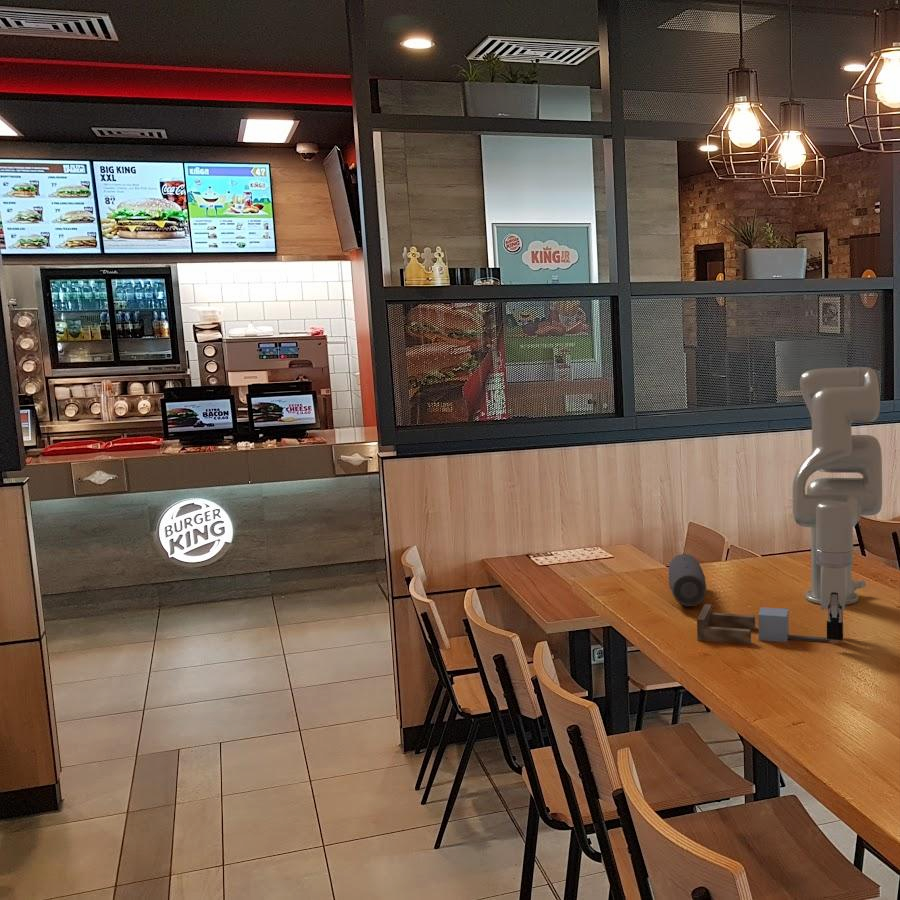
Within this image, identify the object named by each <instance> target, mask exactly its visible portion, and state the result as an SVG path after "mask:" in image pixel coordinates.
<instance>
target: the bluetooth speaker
mask: <svg viewBox="0 0 900 900" xmlns="http://www.w3.org/2000/svg"><path fill="white" fill-rule="evenodd" d="M668 584H669V585H668V586H669V589H670V591H671V594H672V596H673V597H674V599H675V601H677V602H678V603H679V604H681V605H682V606H684V607H694V606H698V605H699V604H701V603H702V602H703V601H704V600H705V597H706V595H707V594H706V593H707V583H706V576H705V574H704V571H703V568H702V566H701V565H700V563H699V561H698V560H697V559H696V558H695V557H693V556H692V555H690V554H687V553H682V554H677V555H676V556H675V557H673V558H672V560H671V561H670V563H669V565H668Z"/></svg>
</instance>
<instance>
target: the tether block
mask: <svg viewBox="0 0 900 900" xmlns="http://www.w3.org/2000/svg"><path fill="white" fill-rule="evenodd" d="M837 613H839V612H837ZM757 617H758V641H761V642H762V641H763V642H772V643H773V642H774V643H775V642H776V643H788V640H791V641H792V640H793V641H805V642H819V643H829V644H831V645H842V644H844V638H843V639H842V640H832V639H827V637H821V636H808V635H796V634H795V635H793V634H790V632H789V631H790V629H789V628H790V627H789V625H790V623H789V621H790V620H789V608H777V607H765V606H764V607H763V606H761V607H760V609H759V612H758V616H757ZM830 621H831V620H830ZM841 622H843V623H844V611H842V612H841Z"/></svg>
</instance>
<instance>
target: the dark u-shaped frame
mask: <svg viewBox="0 0 900 900" xmlns="http://www.w3.org/2000/svg"><path fill="white" fill-rule="evenodd" d="M712 611H713V609H712V604H710V603H704V605H703V606H702V608H701V611H700V613H699V615H698V617H697V619H696V631H697V632H696V634H697V635H696V638H697V641H700V642H701V641H703V642H712V643H713V642H715V643H727V644H739V645H751V644H752V630H753V631H755V630H756V615H754V614H753V615H752V614H751V615H750V614H739V613H736V614H735V613H725V612H723V613H722V612H720V613H719V612H712Z"/></svg>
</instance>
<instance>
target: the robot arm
mask: <svg viewBox="0 0 900 900" xmlns="http://www.w3.org/2000/svg"><path fill="white" fill-rule="evenodd" d="M877 375H878V374H877V372H876V371H875V370H874V369H873V368H871V367H869V366H868V367H866V366H858V367H857V366H852V367H825V368H824V367H823V368H816V369H809V370H806V371H805V372H803V373H802V374H801V375H800V378H799V388H800V393H801V395H802V398H803V401H804V403H805V406H806V408H807V409H808V412H809V416H810V418H811V453H810V454H809V455H808V456H807V458H806V459H805V460H804V461H803V462H802V463H801V464H800V465H799V467H798V469H797V470H796V472H795V475H794V478H793V483H792V516H793V520H794V522H795V523H796V525H798V526H800V527H803V528H810V551H811V552H810V558H811V566H810V568H811V569H810V570H811V589H809V590H807V591H806V592H805V593H804V597H805V599H806V600H808V601H810V602H811V603H814V604H819V605H820V609H821V610H822V611H825V610H827V620H826V638H827V639H832V640H842V639H843V640H844V621H843V622H841V612H842V611H843V612H844V611H845V610H846V609H845V608H846V606H848V605H849V606H850V605H852V604H856V603H858V601H859V595H858V594H857V593H856V591H857V589H864V588H866V581H865V580H856V581H855V580H853V579H852V567H853V565H854V530H853V529H854V527H855V526H856V525H857V524H858V522H860V520H861V517H862V516H863V517H864V516H866V517H868V516H869V517H871V516H875V515H877V514H879V513H880V512H881V510H882V505H883V463H882V462H883V457H882V449H881V448H882V447H881V445H880V441H879V440H878V438H876V437H875V436H873V435H868V434H852V423H854V424H855V423H872V422H875V421H876V420H877V419H878V418H879V416H880V410H881V409H880V408H881V395H880V389H879V380H878V376H877ZM817 471H819V472H820V473H821V472H822V473H831V474H832V473H833V474H834V473H835V474H836V473H837V474H840V473H842V474H848V473H851V474H855V473H856V474H860V475H861V476H862V477H822V478H821V477H820V478H816V479H814V480H812V481H810V483H808V482H807V481H808V480H809V478H810V477H811V476H812V475H813V474H814V473H816V472H817ZM807 483H808V485H807V488H806V484H807ZM837 612H839V613H837ZM830 620H831V621H830Z"/></svg>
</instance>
